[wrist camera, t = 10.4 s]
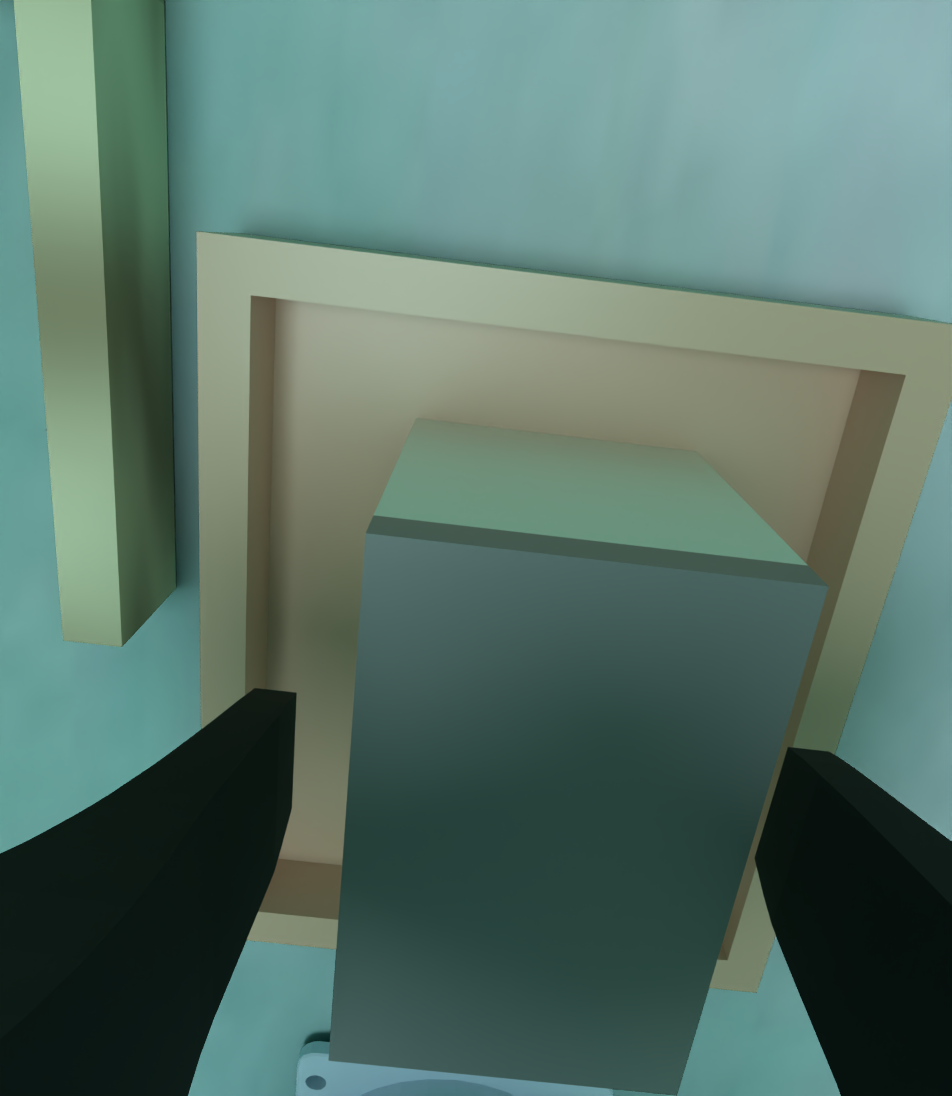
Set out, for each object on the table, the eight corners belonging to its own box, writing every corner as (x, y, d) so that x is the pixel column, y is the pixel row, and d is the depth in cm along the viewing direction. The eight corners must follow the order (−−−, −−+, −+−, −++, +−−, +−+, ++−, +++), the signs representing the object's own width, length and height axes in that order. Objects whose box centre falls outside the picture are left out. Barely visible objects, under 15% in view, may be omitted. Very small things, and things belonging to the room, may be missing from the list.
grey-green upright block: (616, 815, 17) (676, 1095, 11) (383, 790, 17) (328, 1060, 11) (695, 451, 14) (828, 586, 9) (416, 418, 14) (365, 533, 8)
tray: (728, 914, 19) (756, 993, 17) (233, 861, 18) (202, 935, 16) (907, 315, 14) (974, 327, 12) (239, 232, 14) (196, 231, 12)
